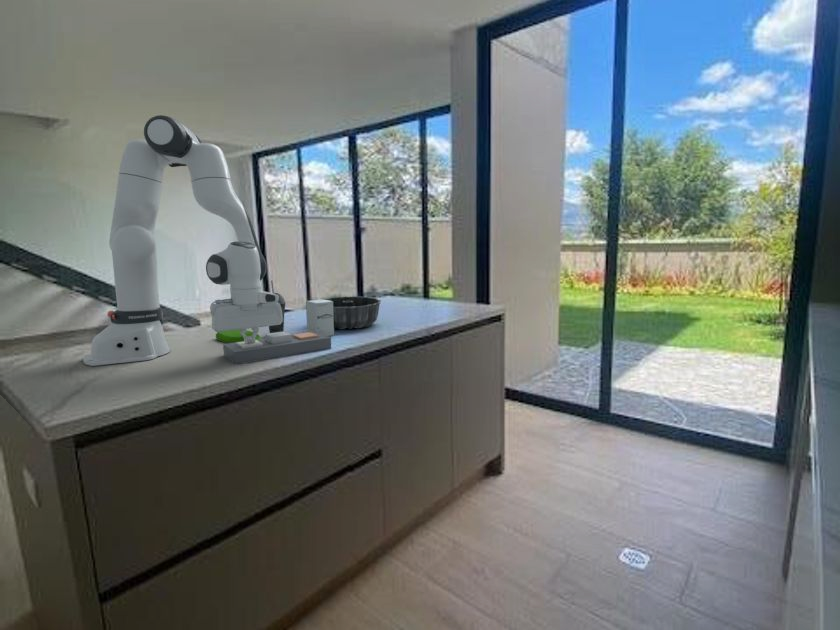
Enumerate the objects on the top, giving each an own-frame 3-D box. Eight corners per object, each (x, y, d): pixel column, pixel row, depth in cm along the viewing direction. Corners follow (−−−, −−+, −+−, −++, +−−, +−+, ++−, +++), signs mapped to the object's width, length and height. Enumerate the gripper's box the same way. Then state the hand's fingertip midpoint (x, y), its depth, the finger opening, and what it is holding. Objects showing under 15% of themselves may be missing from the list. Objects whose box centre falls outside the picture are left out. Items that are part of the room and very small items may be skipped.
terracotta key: (301, 347, 149) (300, 337, 149) (293, 343, 154) (292, 334, 153) (318, 344, 153) (318, 335, 152) (310, 340, 158) (310, 332, 157)
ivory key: (243, 356, 139) (242, 346, 138) (236, 352, 143) (236, 342, 143) (263, 353, 142) (262, 343, 142) (256, 349, 147) (256, 339, 146)
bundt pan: (371, 333, 175) (371, 306, 173) (304, 331, 179) (303, 305, 177) (387, 320, 201) (387, 297, 199) (328, 318, 205) (327, 295, 203)
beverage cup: (274, 338, 166) (271, 282, 163) (262, 336, 170) (258, 280, 167) (291, 335, 172) (288, 280, 168) (279, 332, 176) (276, 279, 173)
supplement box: (316, 338, 167) (314, 303, 164) (306, 334, 172) (305, 300, 170) (334, 335, 171) (333, 301, 169) (324, 332, 177) (323, 298, 175)
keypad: (236, 363, 135) (235, 352, 134) (223, 355, 144) (223, 344, 143) (331, 348, 153) (330, 337, 152) (315, 341, 162) (314, 331, 161)
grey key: (272, 346, 144) (272, 337, 143) (265, 343, 148) (265, 333, 148) (291, 343, 147) (291, 334, 147) (284, 340, 152) (283, 331, 151)
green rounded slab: (241, 335, 174) (280, 346, 158) (212, 340, 165) (250, 353, 150) (241, 327, 173) (279, 338, 158) (212, 332, 165) (249, 344, 149)
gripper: (212, 301, 131) (216, 350, 134) (283, 295, 143) (286, 339, 146) (206, 299, 136) (210, 345, 138) (275, 293, 148) (278, 336, 151)
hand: (249, 342), depth 142 cm, fingers closed, pressing on ivory key
